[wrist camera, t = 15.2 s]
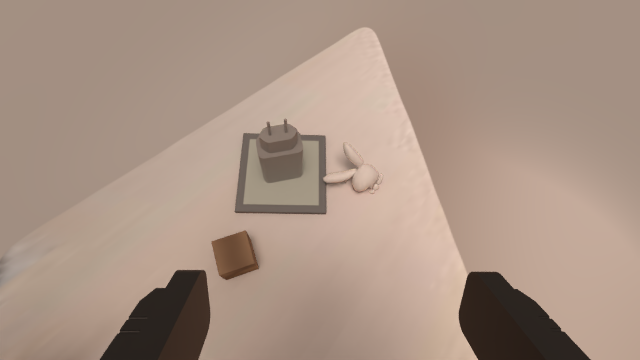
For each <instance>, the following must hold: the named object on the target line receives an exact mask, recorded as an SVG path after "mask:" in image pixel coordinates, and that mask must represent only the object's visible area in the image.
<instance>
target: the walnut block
mask: <svg viewBox="0 0 640 360" xmlns="http://www.w3.org/2000/svg"><path fill="white" fill-rule="evenodd" d="M212 246H213V251H214V255H215V259H216V264H217V268H218V272H219V276H221V277H223V278H224V279H226V280H228V279H231V278H234V277H236V276H239V275H242V274H245V273H248V272H251V271H253V270H256V269H259V268H258V264H257V261H256V257H255V254H254V250H253V247H252V243H251V239H250V237H249V236H248V234H247V232H246V231H243V232H240V233H236V234H233V235H230V236H227V237H224V238H221V239H218V240H215V241H212Z"/></svg>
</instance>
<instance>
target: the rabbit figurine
mask: <svg viewBox="0 0 640 360" xmlns="http://www.w3.org/2000/svg"><path fill="white" fill-rule="evenodd" d="M343 148H344V152H345V155H346V156H347V158H348V159H349V160H350V161H351V162H352V163H353V164H355V165H356V166H360V167H359V168H358V169H357V168H355V169H350V170H347V171H343V172H336V173H330V174H328V175H326V176H325V177H324V178H323V181H324V182H327V183H338V182H342V181H345V180H346V181H347V180H348V179H349V178H351V177H352V176H353V178H352V185H353V188H354V189H355V190H356V191H358V192H361V191H364V190H366V189H367V188H373V190H371V191H369V193H372V194H374V190H376V189H378V188H379V186H378V185H377V184H380V183H381V181H382V179H383V174H382V173H381V175H380V177H379V179H378V176H379V174H378V171H377V170H376V169H375V168H374V167H373V166H372V165H370V164H363V159H362V157H361V156H360V155H359V154H358V152H357V151H356V150H355V149H354V148H353V147H352V146H351V145H350V144H348V143H346V142H345V143H343ZM362 164H363V165H362ZM377 179H378V181H377ZM346 181H345V183H346ZM376 181H377V184H374V183H375V182H376ZM373 184H374V186H373Z"/></svg>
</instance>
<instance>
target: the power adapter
mask: <svg viewBox="0 0 640 360" xmlns="http://www.w3.org/2000/svg"><path fill="white" fill-rule="evenodd" d="M256 147H257V153H258V157H259V161H260V165H261V169H262V173H263V177H264V180H265V182H267V183H274V182H279V181H284V180H289V179H295V178H299V177H301V176H302V174H303V144H302V140H301V136H300V133H299V132H297V129H296V128H295V127H293V126H291V125H290V124H287V119H284V124H283V125H277V126H271V127H270V124H269V122H267V127H266V128H264V129H263V130H262V131H261V133H260V134H259V137H258V138H257V139H256Z"/></svg>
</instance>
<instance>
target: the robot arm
mask: <svg viewBox="0 0 640 360" xmlns="http://www.w3.org/2000/svg"><path fill="white" fill-rule="evenodd" d="M459 322H460V327H461V330H462V332H463V334H464V336H465V337H466V339H467V341H468V343H469V344H470V346H471V348H472V350H473V351H474V353H475V355H476V357H477V358H478V360H590V359H589V358H588V357H587V355H586V354H585V353H584V352H583V351H582V350H581V349H580V348H579V347H578V346H577V345H576V344H575V343H574V342H573V341H572V340H571V339H570V337H569V336H568V335H567V334H566V333H565V332H562V331H561V328H560V327H559V326H558V325H557V324H556V323H555V322H554V321H553V320H552V319H550V318H549V315H548V314H547V313H546V312H545V311H544V310H543V309H542V308H541V307H540V306H539V305H538V304H537V303H536V302H535V301H534V300H532V299H531V298H530V297H528V296H527V295H525V294H524V293H522V292H521V291H519V290H518V289H513V287H512V286H511V285H510V284H509V283H508V282H507V281H506V280H505V279H504V278H503V276H502V275H501V274H499V273H498V272H471V273H469V275H468V277H467V280H466V284H465V288H464V293H463V297H462V301H461V305H460V309H459ZM209 324H210V305H209V295H208V286H207V277H206V273H205V271H204V270H177V271H176V272H175V273H174V275H173V277H172V278H171V280H170V282H169V283H168V285H167V286H166V288H156V289H154V290H153V291H152V292H151V293H149V294H148V295H147V296H146V297H144V298H143V299H142V300H140V301H139V303H138V304H137V306H136V307H135V309H134V310H133V312H132V313H131V315H130V316H129V320H126V322H125V323H124V325H123V326H122V328H121V329H120V333H119V334H117V335H116V336H115V338H114V339H113V341H112V342H111V344H110V345H109V347H108V348H107V350H106V351H105V353H104V354H103V356H102V357H101V358H100V360H198V358H199V356H200V353H201V350H202V347H203V344H204V342H205V339H206V336H207V333H208V329H209Z"/></svg>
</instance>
